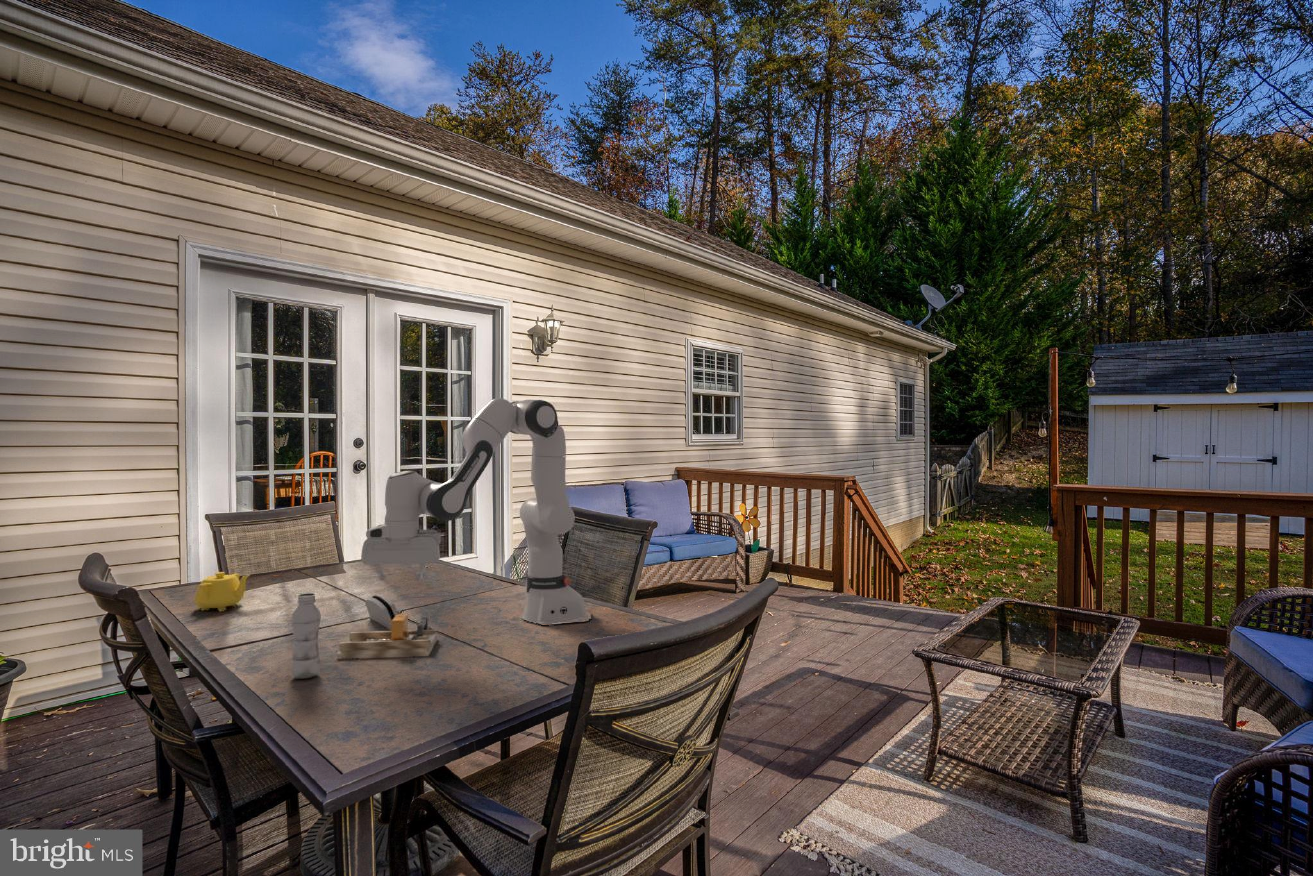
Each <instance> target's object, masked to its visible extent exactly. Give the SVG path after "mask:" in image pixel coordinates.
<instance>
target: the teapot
mask: <svg viewBox="0 0 1313 876" xmlns="http://www.w3.org/2000/svg"><path fill="white" fill-rule="evenodd" d="M214 573H215V574H214V575H212V576H207V577H205V578H203V579H202V581H201V583H200V584H199V585H198V588H197V590H196V593H195V596H194V597H195V598H194V603H195V604H196V606H197V607H198V608H201V609H200V610H207V611H209V610H210V609H216V608H217V611H218V610H226V611H227V607H230V606H235V607H237V606H236V605H238V603H239V602H241V601H242V599H243V598H244V594H245V591H246V589H247V588H246V586H247V585H246V584H247V579H248V578H249V576H251V575H250V574H248V575H243V576H242V577H241V579H240V574H239V573H233V574H225V573H226V572H225V571H219V572H218V571H217V572H214Z"/></svg>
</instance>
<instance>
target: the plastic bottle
mask: <svg viewBox="0 0 1313 876" xmlns="http://www.w3.org/2000/svg"><path fill="white" fill-rule="evenodd" d="M315 603H316V593H314V592H306V593H301V594H298V596H297V604H298V605H297V607H296V608H295V610H294V611H293V613H291V617H290V618H291V619H290V620H291V627H292V636H293V637H292V638H293V646H292V647H293V648H292V658H291V662H290V667H289V668H290V669H289V670H290V674H291V676H292V678H294V679H295V680H303V679H304V680H305V679H311V678H313V677H316V676H317V675H318V674H319V672H320V671H321V666H322V665H321V659H320V658H321V657H320V653H319V652H320V651H319V632H320V626H321V618H322V614H321V611H320V609H319V608H318V607H317V605H316V604H315Z"/></svg>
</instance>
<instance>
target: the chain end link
mask: <svg viewBox="0 0 1313 876" xmlns="http://www.w3.org/2000/svg"><path fill="white" fill-rule="evenodd" d="M408 621H409V614H406V613H405V614H399V615H396V616H395V617H394V618H393V620H392V625H391V630H390V631H391V641H394V640H418V639H431V645H432V643H433V641H434V640H435V638H436V634H437V632H436V633H433V634H423V636H418V637H417V634H410V635H409V636H408V626H409V625H408V623H409V622H408ZM367 641H378V639H375V640H367ZM379 641H390V639H380V640H379Z"/></svg>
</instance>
